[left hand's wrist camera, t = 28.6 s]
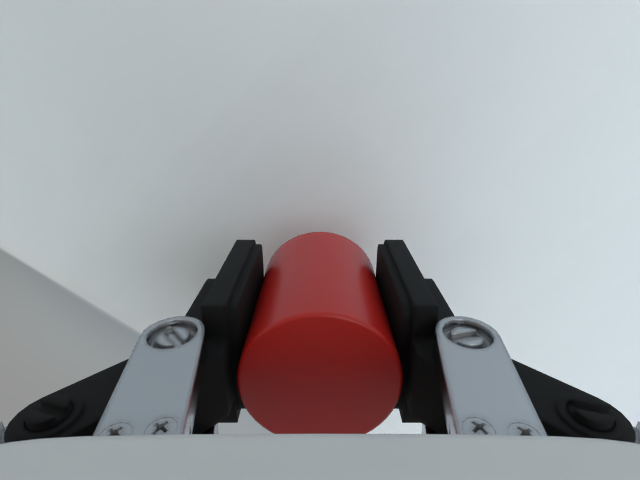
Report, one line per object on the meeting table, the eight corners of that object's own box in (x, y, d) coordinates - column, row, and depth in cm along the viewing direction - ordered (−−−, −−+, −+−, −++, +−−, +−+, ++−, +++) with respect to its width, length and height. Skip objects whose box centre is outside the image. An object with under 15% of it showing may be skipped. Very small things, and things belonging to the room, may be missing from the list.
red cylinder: (251, 244, 12) (212, 332, 8) (363, 220, 12) (390, 298, 7) (281, 336, 13) (262, 457, 9) (382, 316, 13) (413, 432, 8)
